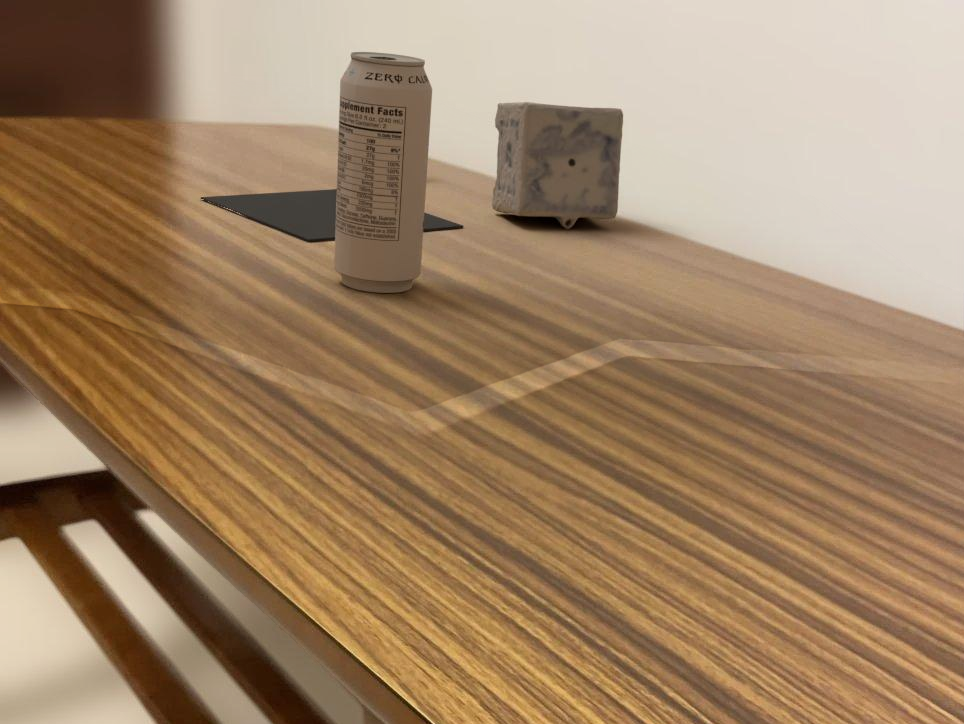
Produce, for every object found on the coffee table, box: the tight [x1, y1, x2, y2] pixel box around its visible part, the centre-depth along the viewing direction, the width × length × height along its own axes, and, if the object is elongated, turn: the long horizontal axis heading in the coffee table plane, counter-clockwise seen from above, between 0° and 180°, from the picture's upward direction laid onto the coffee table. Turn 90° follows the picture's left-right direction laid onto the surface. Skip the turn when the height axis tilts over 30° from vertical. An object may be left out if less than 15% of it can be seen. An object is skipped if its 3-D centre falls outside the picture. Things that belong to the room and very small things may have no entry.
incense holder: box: [491, 101, 624, 229], centre depth 111 cm, size 10×8×10 cm
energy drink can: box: [333, 51, 433, 294], centre depth 84 cm, size 6×6×15 cm
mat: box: [200, 188, 464, 243], centre depth 106 cm, size 16×16×1 cm
